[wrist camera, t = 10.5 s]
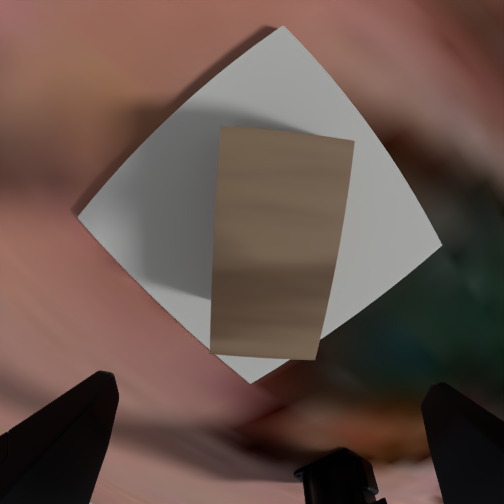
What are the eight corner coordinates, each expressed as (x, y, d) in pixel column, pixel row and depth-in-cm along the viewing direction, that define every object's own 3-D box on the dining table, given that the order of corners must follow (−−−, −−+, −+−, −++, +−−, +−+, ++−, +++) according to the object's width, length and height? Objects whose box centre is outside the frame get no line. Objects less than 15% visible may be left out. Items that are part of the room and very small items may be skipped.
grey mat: (250, 376, 22) (250, 383, 22) (83, 214, 18) (77, 217, 17) (436, 241, 19) (442, 245, 18) (281, 29, 14) (283, 25, 14)
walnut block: (314, 359, 15) (354, 140, 11) (209, 354, 15) (220, 125, 11) (301, 308, 19) (326, 138, 16) (219, 302, 19) (230, 128, 16)
